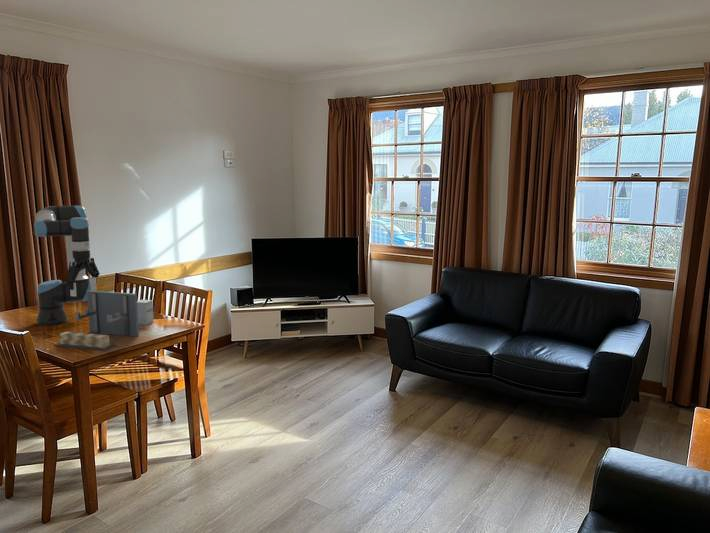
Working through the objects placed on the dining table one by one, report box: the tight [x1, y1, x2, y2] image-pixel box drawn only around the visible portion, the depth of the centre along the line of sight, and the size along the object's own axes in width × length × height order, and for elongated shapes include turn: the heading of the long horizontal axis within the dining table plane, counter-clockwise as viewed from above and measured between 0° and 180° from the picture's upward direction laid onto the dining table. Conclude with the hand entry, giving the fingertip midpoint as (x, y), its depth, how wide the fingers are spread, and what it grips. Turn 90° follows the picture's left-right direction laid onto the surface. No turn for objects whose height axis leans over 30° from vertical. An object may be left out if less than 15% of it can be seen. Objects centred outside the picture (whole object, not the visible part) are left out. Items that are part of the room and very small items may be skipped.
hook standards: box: [74, 294, 131, 338], centre depth 263 cm, size 20×14×21 cm
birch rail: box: [59, 331, 111, 348], centre depth 251 cm, size 24×4×5 cm, turn 77°
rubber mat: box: [53, 342, 117, 352], centre depth 251 cm, size 28×8×1 cm, turn 77°
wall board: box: [87, 290, 140, 337], centre depth 270 cm, size 28×2×22 cm, turn 77°
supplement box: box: [137, 299, 155, 326], centre depth 292 cm, size 7×7×13 cm
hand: (84, 293), depth 254 cm, fingers open, 13 cm apart
